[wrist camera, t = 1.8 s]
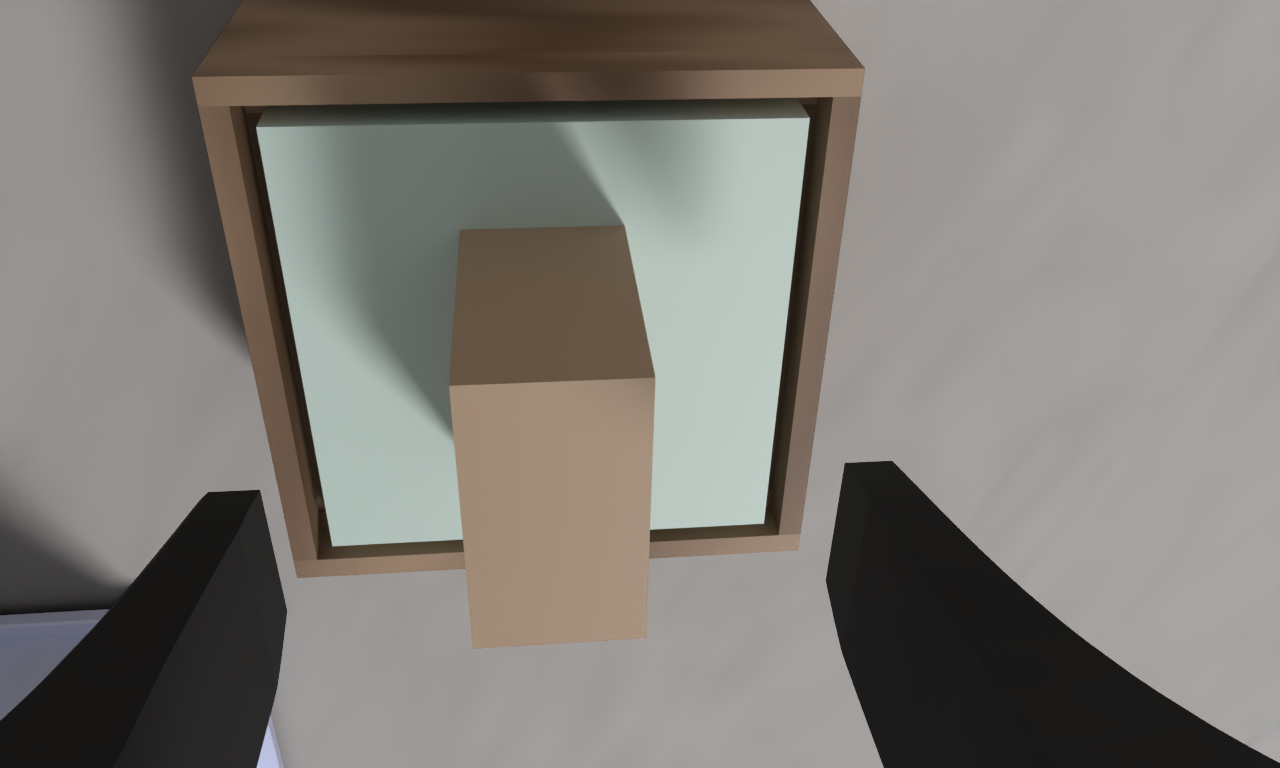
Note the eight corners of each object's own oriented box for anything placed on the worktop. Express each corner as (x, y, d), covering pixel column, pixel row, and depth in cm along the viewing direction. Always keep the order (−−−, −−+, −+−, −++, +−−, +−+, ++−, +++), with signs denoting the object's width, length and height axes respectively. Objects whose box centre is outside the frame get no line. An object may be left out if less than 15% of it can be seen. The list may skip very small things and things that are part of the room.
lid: (338, 515, 20) (297, 737, 16) (266, 105, 16) (186, 269, 12) (755, 494, 21) (815, 701, 17) (797, 97, 16) (891, 250, 12)
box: (328, 431, 23) (297, 578, 20) (252, -13, 18) (191, 76, 14) (754, 413, 24) (798, 550, 20) (797, -16, 19) (865, 68, 15)
